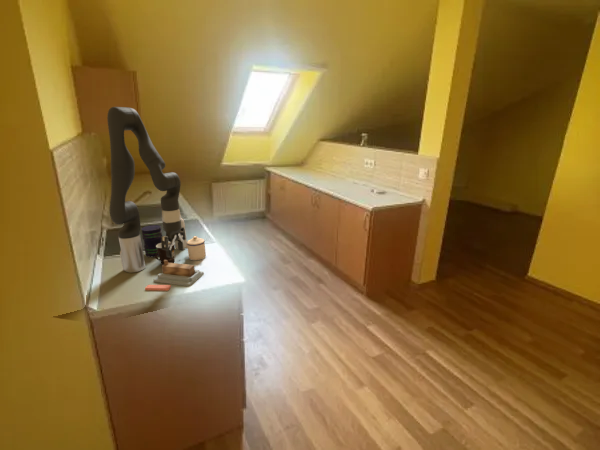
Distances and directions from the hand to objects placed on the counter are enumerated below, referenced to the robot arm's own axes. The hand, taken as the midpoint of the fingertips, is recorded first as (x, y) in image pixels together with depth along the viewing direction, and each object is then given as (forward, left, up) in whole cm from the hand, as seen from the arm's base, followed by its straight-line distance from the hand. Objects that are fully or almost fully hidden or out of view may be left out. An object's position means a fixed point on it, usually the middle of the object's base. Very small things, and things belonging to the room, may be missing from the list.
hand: (175, 253), depth 147 cm
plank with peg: (0, 0, -11) cm, 11 cm away
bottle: (-21, +34, -12) cm, 42 cm away
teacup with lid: (-6, +24, -12) cm, 28 cm away
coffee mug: (-16, +12, -12) cm, 23 cm away
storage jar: (-30, +23, -12) cm, 40 cm away
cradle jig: (0, 0, -12) cm, 12 cm away
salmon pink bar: (-3, -11, -13) cm, 17 cm away
